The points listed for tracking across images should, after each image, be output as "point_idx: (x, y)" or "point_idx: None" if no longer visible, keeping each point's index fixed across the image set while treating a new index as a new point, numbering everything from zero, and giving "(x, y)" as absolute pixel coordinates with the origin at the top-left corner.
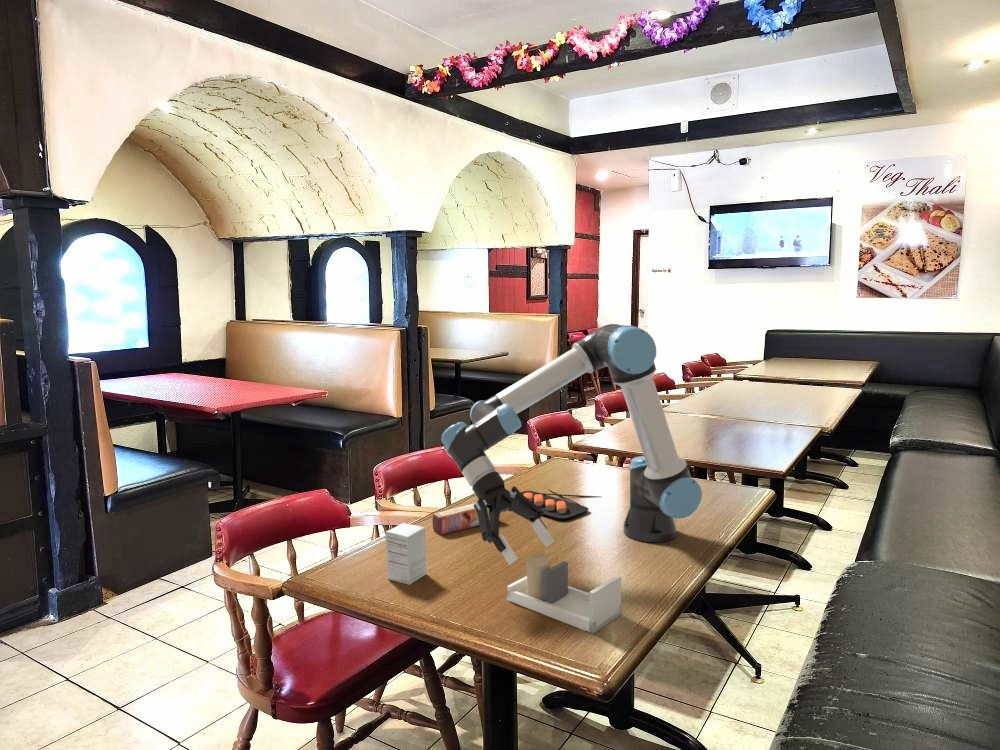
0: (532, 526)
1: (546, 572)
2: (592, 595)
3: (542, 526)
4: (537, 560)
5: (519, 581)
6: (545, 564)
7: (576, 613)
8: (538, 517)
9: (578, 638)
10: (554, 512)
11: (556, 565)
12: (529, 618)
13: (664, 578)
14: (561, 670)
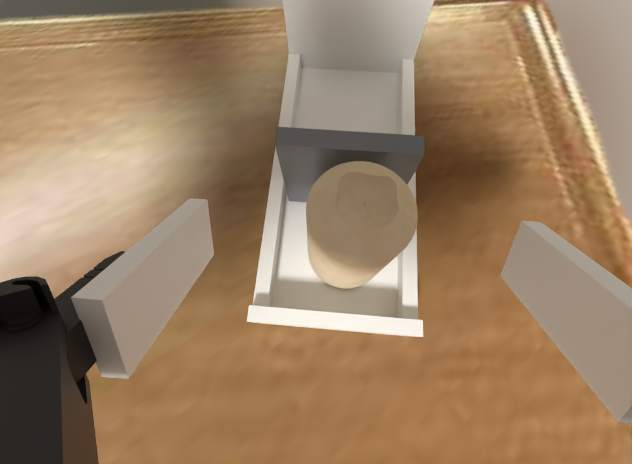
0: (138, 359)
1: (414, 141)
2: None
3: (146, 252)
4: (398, 185)
5: (363, 319)
6: (375, 164)
7: (369, 123)
8: (56, 308)
9: (443, 86)
10: None
11: (332, 145)
12: (449, 217)
13: (57, 68)
14: (565, 57)
